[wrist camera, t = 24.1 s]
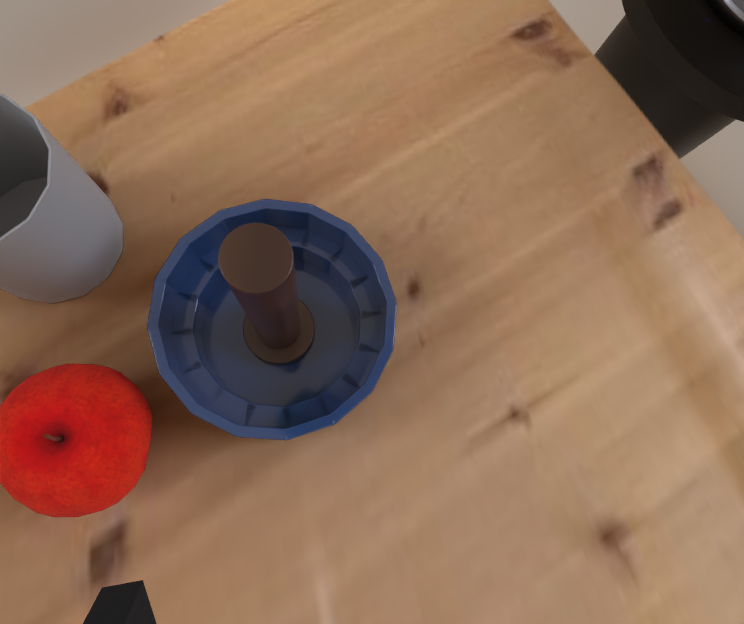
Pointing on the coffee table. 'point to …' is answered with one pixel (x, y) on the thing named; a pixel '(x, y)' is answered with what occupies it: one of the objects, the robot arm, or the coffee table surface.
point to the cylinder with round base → (267, 293)
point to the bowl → (226, 317)
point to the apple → (73, 439)
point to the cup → (50, 215)
